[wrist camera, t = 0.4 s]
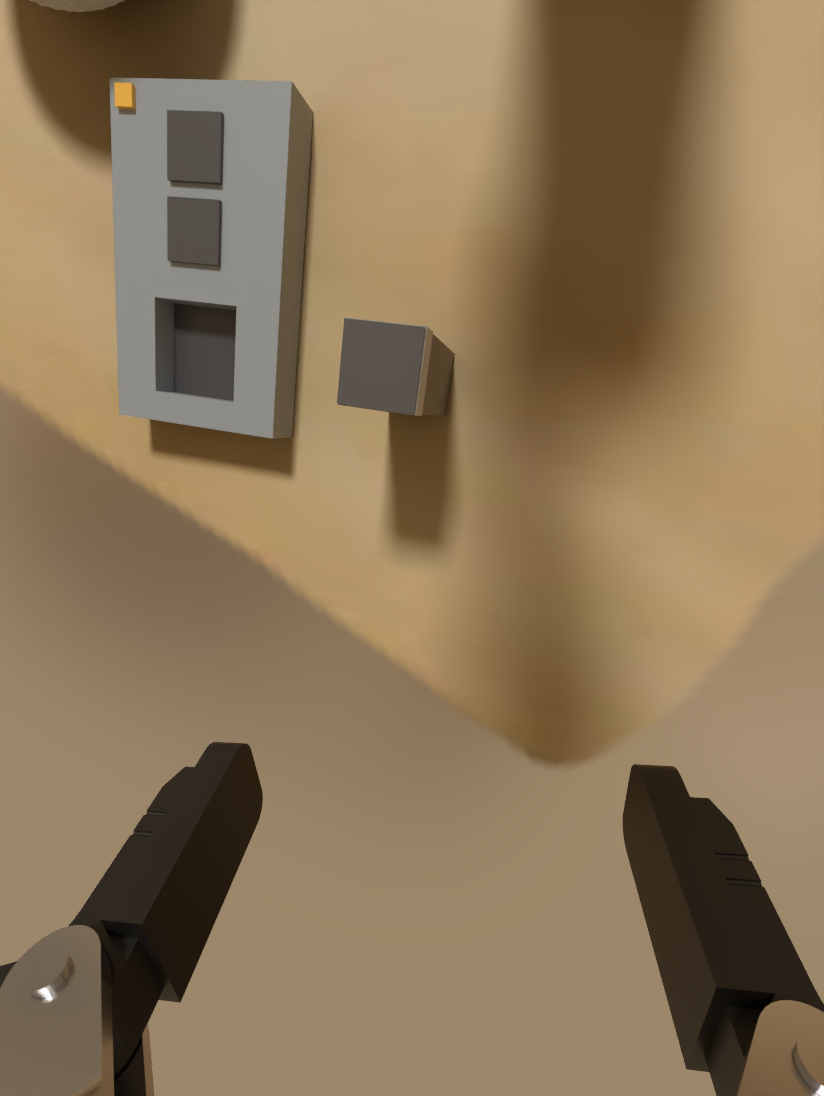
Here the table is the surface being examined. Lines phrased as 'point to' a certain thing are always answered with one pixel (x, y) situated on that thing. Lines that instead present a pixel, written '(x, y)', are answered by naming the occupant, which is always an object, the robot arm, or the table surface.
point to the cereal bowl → (77, 4)
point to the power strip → (209, 249)
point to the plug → (394, 368)
